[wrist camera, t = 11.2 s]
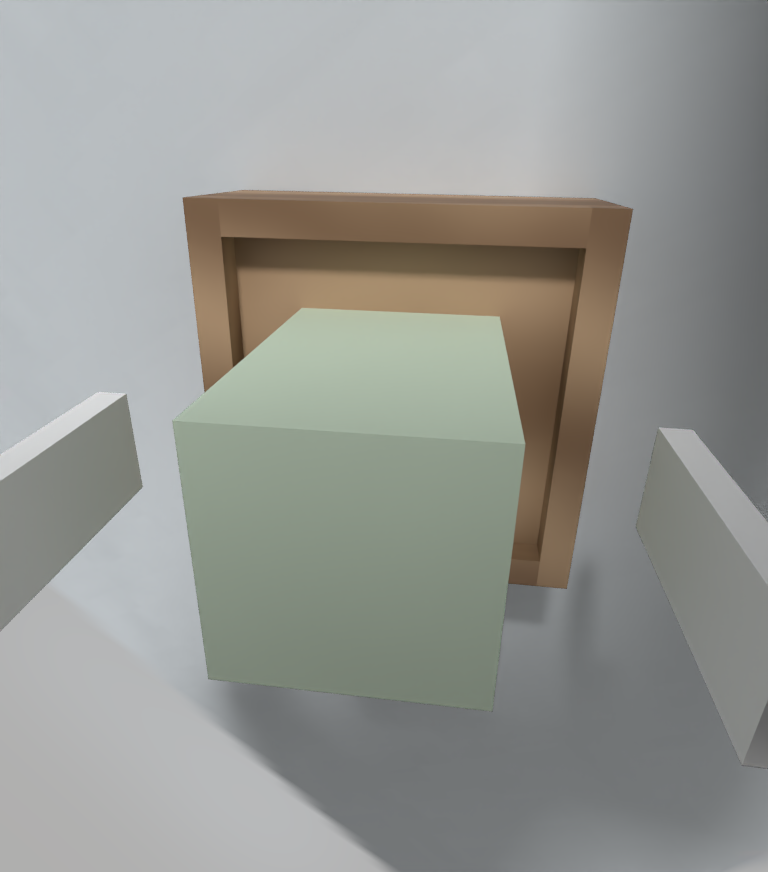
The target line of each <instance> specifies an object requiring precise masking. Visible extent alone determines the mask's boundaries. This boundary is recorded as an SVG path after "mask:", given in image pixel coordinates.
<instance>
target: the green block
mask: <svg viewBox="0 0 768 872" xmlns="http://www.w3.org/2000/svg"><path fill="white" fill-rule="evenodd" d="M172 422H173V429H174V436H175V443H176V450H177V457H178V465H179V472H180V479H181V486H182V493H183V500H184V507H185V515H186V522H187V529H188V536H189V543H190V550H191V557H192V565H193V572H194V579H195V586H196V593H197V600H198V607H199V615H200V622H201V629H202V636H203V643H204V650H205V657H206V665H207V672H208V679H211V680H220V681H229V682H238V683H246V684H255V685H264V686H273V687H281V688H290V689H299V690H308V691H316V692H325V693H334V694H343V695H351V696H360V697H369V698H378V699H386V700H395V701H404V702H413V703H422V704H430V705H439V706H448V707H457V708H465V709H474V710H483V711H492V710H493V702H494V694H495V686H496V678H497V670H498V662H499V654H500V645H501V637H502V629H503V621H504V613H505V605H506V597H507V589H508V581H509V573H510V565H511V557H512V548H513V540H514V532H515V524H516V516H517V508H518V500H519V492H520V484H521V476H522V468H523V459H524V451H525V440H524V435H523V430H522V425H521V420H520V415H519V410H518V405H517V400H516V395H515V390H514V385H513V380H512V375H511V370H510V366H509V361H508V356H507V351H506V346H505V341H504V336H503V331H502V326H501V321H500V317H498V316H476V315H453V314H430V313H408V312H385V311H362V310H340V309H317V308H301V309H300V310H299V311H298V312H296V313H295V314H294V315H293V316H292V317H291V318H290V319H288V320H287V321H286V322H285V323H284V324H283V325H282V326H280V327H279V328H278V329H277V330H276V331H275V332H274V333H272V334H271V335H270V336H269V337H268V338H267V339H266V340H264V341H263V342H262V343H261V344H260V345H259V346H258V347H256V348H255V349H254V350H253V351H252V352H251V353H249V354H248V355H247V356H246V357H245V358H244V359H243V360H241V361H240V362H239V363H238V364H237V365H236V366H235V367H233V368H232V369H231V370H230V371H229V372H228V373H227V374H225V375H224V376H223V377H222V378H221V379H220V380H219V381H217V382H216V383H215V384H214V385H213V386H212V387H211V388H209V389H208V390H207V391H206V392H205V393H204V394H202V395H201V396H200V397H199V398H198V399H197V400H196V401H194V402H193V403H192V404H191V405H190V406H189V407H188V408H186V409H185V410H184V411H183V412H182V413H181V414H180V415H178V416H177V417H176V418H175V419H174V420H173V421H172Z"/></svg>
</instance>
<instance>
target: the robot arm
mask: <svg viewBox="0 0 768 872" xmlns="http://www.w3.org/2000/svg"><path fill="white" fill-rule="evenodd" d="M142 487H143V486H142V480H141V475H140V469H139V463H138V458H137V452H136V446H135V441H134V435H133V429H132V424H131V418H130V412H129V407H128V401H127V395H126V394H123V393H107V392H97V393H96V394H94V395H93V396H91V397H89V398H88V399H86V400H85V401H83V402H82V403H80V404H78V405H77V406H75V407H74V408H72V409H71V410H69V411H67V412H66V413H64V414H63V415H61V416H60V417H58V418H56V419H55V420H53V421H52V422H50V423H49V424H47V425H45V426H44V427H42V428H41V429H39V430H38V431H36V432H34V433H33V434H31V435H30V436H28V437H27V438H25V439H24V440H22V441H20V442H19V443H17V444H16V445H14V446H13V447H11V448H9V449H8V450H6V451H5V452H3V453H2V454H0V631H1V630H2V629H3V628H4V627H5V626H6V625H7V624H8V623H9V622H10V621H11V620H12V619H13V618H14V617H15V616H16V615H17V614H18V613H19V612H20V611H21V610H22V609H23V608H24V607H25V606H26V605H27V604H28V603H29V602H30V601H31V600H32V599H33V598H34V597H35V596H36V595H37V594H38V593H39V592H40V591H41V590H42V589H43V588H44V587H45V586H46V585H47V584H48V583H49V582H50V581H51V580H52V579H53V578H54V577H55V576H56V575H57V574H58V573H59V572H60V570H61V569H62V568H63V567H64V566H65V565H66V564H67V563H68V562H69V561H70V560H71V559H72V558H73V557H74V556H75V555H76V554H77V553H78V552H79V551H80V550H81V549H82V548H83V547H84V546H85V545H86V544H87V543H88V542H89V541H90V540H91V539H92V538H93V537H94V536H95V535H96V534H97V533H98V532H99V531H100V530H101V529H102V528H103V527H104V526H105V525H106V524H107V523H108V522H109V521H110V520H111V519H112V518H113V517H114V516H115V515H116V514H117V513H118V512H119V511H120V510H121V509H122V508H123V507H124V506H125V505H126V504H127V503H128V502H129V501H130V500H131V499H132V497H133V496H134V495H135V494H136V493H137V492H138V491H139V490H140V489H141V488H142ZM636 529H637V531H638V533H639V535H640V538H641V540H642V542H643V544H644V547H645V549H646V551H647V553H648V556H649V558H650V560H651V562H652V565H653V567H654V569H655V571H656V574H657V576H658V578H659V580H660V583H661V585H662V587H663V589H664V592H665V594H666V596H667V598H668V601H669V603H670V605H671V607H672V610H673V612H674V614H675V616H676V619H677V621H678V623H679V625H680V628H681V630H682V632H683V634H684V637H685V639H686V641H687V643H688V646H689V648H690V650H691V652H692V655H693V657H694V659H695V661H696V663H697V666H698V668H699V670H700V672H701V675H702V677H703V679H704V681H705V684H706V686H707V688H708V690H709V693H710V695H711V697H712V699H713V702H714V704H715V706H716V708H717V711H718V713H719V715H720V717H721V720H722V722H723V724H724V726H725V729H726V731H727V733H728V735H729V738H730V740H731V742H732V744H733V747H734V749H735V751H736V753H737V756H738V758H739V760H740V762H741V765H742V766H749V767H758V768H766V769H768V522H767V521H766V519H765V518H764V517H763V516H762V514H761V513H760V512H759V511H758V509H757V508H756V507H755V506H754V505H753V503H752V502H751V501H750V500H749V498H748V497H747V496H746V495H745V493H744V492H743V491H742V490H741V488H740V487H739V486H738V485H737V484H736V482H735V481H734V480H733V479H732V477H731V476H730V475H729V474H728V472H727V471H726V470H725V469H724V467H723V466H722V465H721V464H720V463H719V461H718V460H717V459H716V458H715V456H714V455H713V454H712V453H711V451H710V450H709V449H708V448H707V447H706V445H705V444H704V443H703V442H702V440H701V439H700V438H699V437H698V435H697V434H696V433H695V432H694V430H692V429H676V428H660V427H658V431H657V435H656V440H655V444H654V449H653V453H652V458H651V462H650V466H649V471H648V475H647V480H646V484H645V489H644V493H643V497H642V502H641V506H640V511H639V515H638V520H637V524H636Z"/></svg>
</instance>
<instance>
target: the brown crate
mask: <svg viewBox="0 0 768 872" xmlns="http://www.w3.org/2000/svg"><path fill="white" fill-rule="evenodd" d="M183 205H184V214H185V223H186V231H187V240H188V249H189V258H190V267H191V276H192V285H193V293H194V302H195V311H196V320H197V329H198V338H199V347H200V355H201V364H202V373H203V382H204V391H205V392H206V391H207V390H208V389H209V388H211V387H212V386H213V385H214V384H215V383H216V382H217V381H219V380H220V379H221V378H222V377H223V376H224V375H225V374H227V373H228V372H229V371H230V370H231V369H232V368H233V367H235V366H236V365H237V364H238V363H239V362H240V361H241V360H243V359H244V358H245V357H246V356H247V355H248V354H249V353H251V352H252V351H253V350H254V349H255V348H256V347H258V346H259V345H260V344H261V343H262V342H263V341H264V340H266V339H267V338H268V337H269V336H270V335H271V334H272V333H274V332H275V331H276V330H277V329H278V328H279V327H280V326H282V325H283V324H284V323H285V322H286V321H287V320H288V319H290V318H291V317H292V316H293V315H294V314H295V313H296V312H298V311H299V310H300V309H301V308H317V309H340V310H362V311H385V312H408V313H430V314H453V315H476V316H498V317H500V321H501V326H502V331H503V336H504V341H505V346H506V351H507V356H508V361H509V366H510V370H511V375H512V380H513V385H514V390H515V395H516V400H517V405H518V410H519V415H520V420H521V425H522V430H523V435H524V440H525V451H524V459H523V468H522V476H521V484H520V492H519V500H518V508H517V516H516V524H515V532H514V540H513V548H512V557H511V565H510V573H509V581H508V583H509V584H520V585H531V586H542V587H553V588H564V589H567V584H568V578H569V572H570V567H571V561H572V555H573V550H574V544H575V538H576V532H577V527H578V521H579V515H580V509H581V504H582V498H583V492H584V487H585V481H586V475H587V469H588V464H589V458H590V452H591V446H592V441H593V435H594V429H595V424H596V418H597V412H598V406H599V401H600V395H601V389H602V383H603V378H604V372H605V366H606V360H607V355H608V349H609V343H610V338H611V332H612V326H613V320H614V315H615V309H616V303H617V297H618V292H619V286H620V280H621V275H622V269H623V263H624V257H625V252H626V246H627V240H628V234H629V229H630V223H631V217H632V212H633V209H631V208H628V207H624V206H621V205H617V204H614V203H610V202H606V201H603V200H599V199H596V198H556V197H513V196H471V195H428V194H386V193H343V192H301V191H259V190H241V191H232V192H224V193H216V194H208V195H200V196H192V197H184V198H183Z"/></svg>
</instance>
